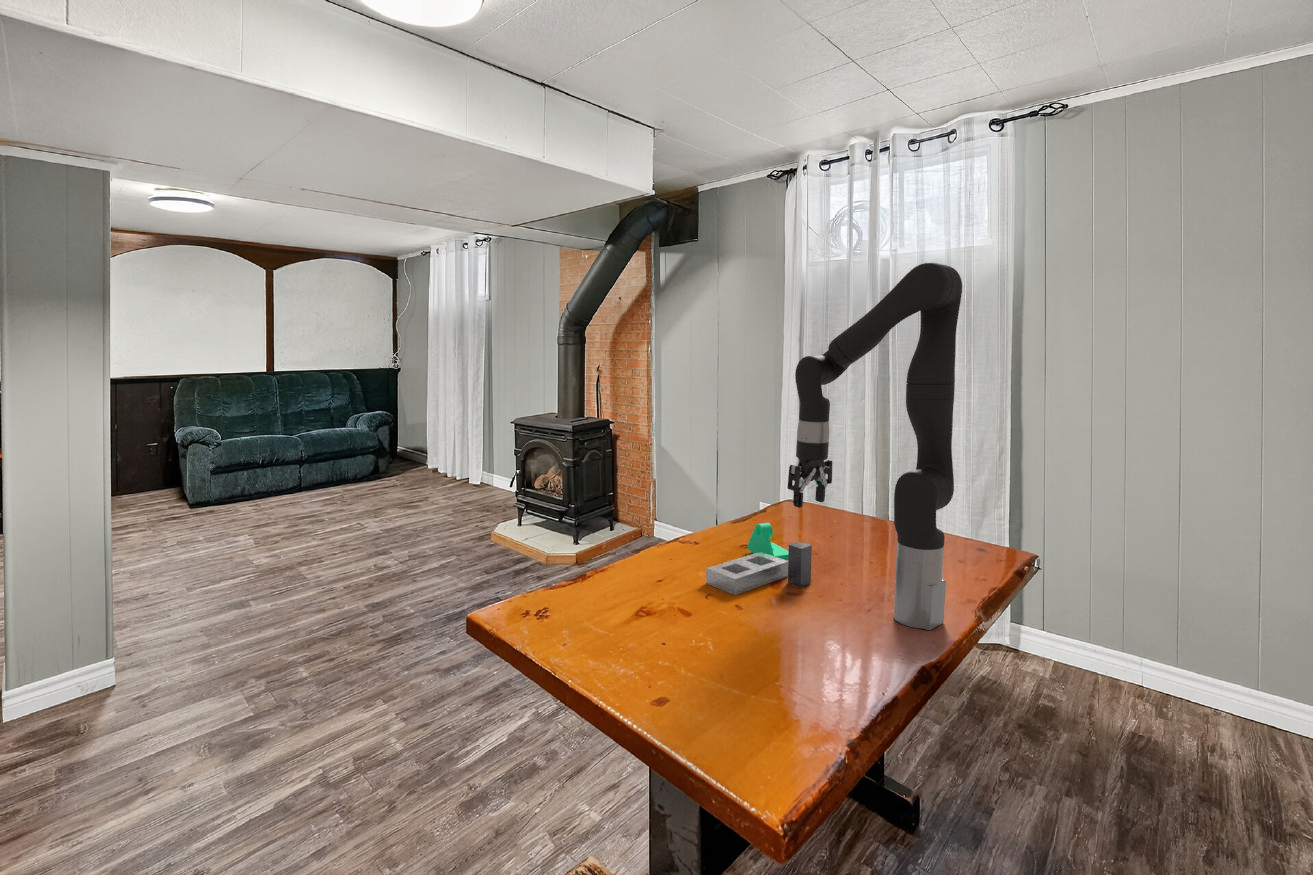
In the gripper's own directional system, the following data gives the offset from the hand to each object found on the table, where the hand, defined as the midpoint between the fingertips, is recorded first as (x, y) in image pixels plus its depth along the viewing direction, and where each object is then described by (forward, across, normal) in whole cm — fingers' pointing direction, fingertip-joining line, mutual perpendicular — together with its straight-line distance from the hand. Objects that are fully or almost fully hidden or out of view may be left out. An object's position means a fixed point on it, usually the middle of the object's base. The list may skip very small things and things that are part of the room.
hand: (809, 504), depth 154 cm
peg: (+21, 0, +1) cm, 21 cm away
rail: (+21, -8, +11) cm, 25 cm away
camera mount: (+22, +10, +19) cm, 31 cm away
